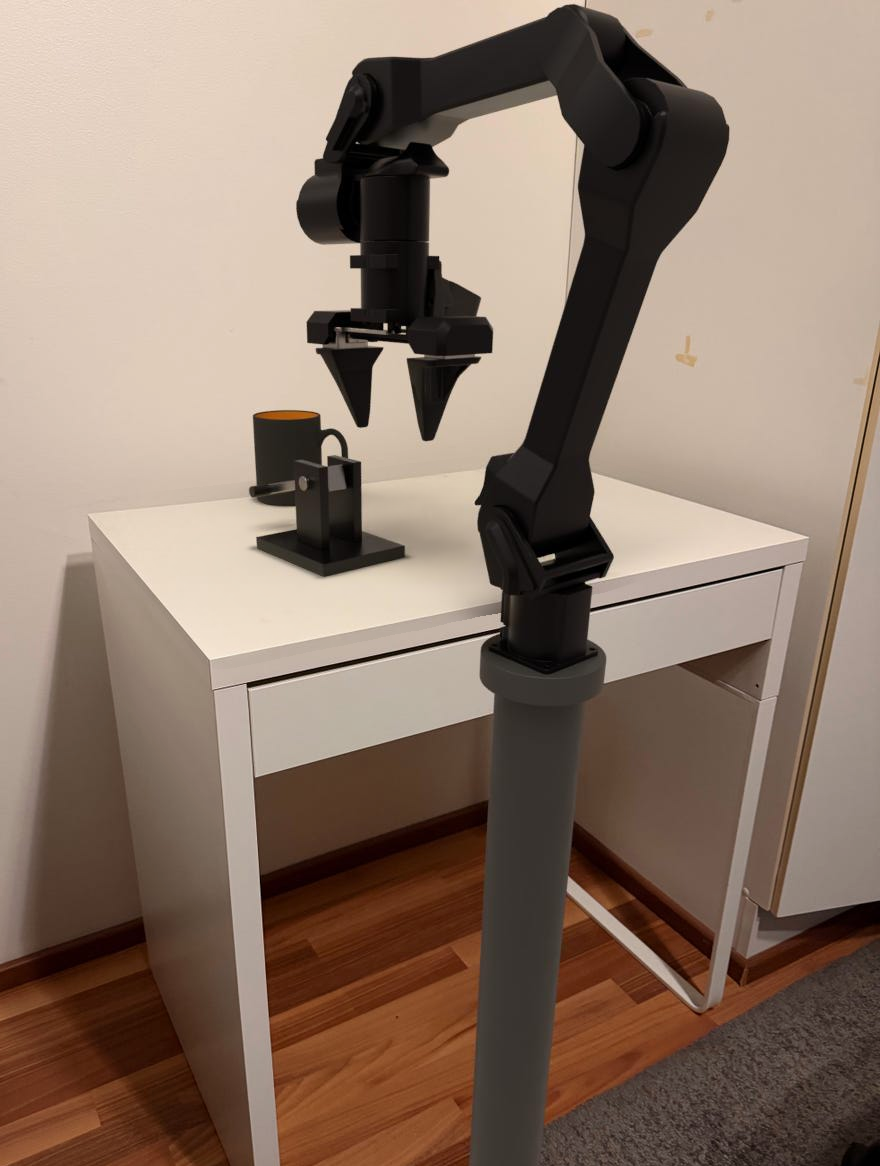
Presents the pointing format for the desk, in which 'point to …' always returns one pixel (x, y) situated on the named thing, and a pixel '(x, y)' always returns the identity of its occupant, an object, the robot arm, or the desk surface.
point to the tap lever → (334, 484)
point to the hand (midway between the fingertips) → (394, 433)
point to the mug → (287, 447)
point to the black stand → (329, 524)
